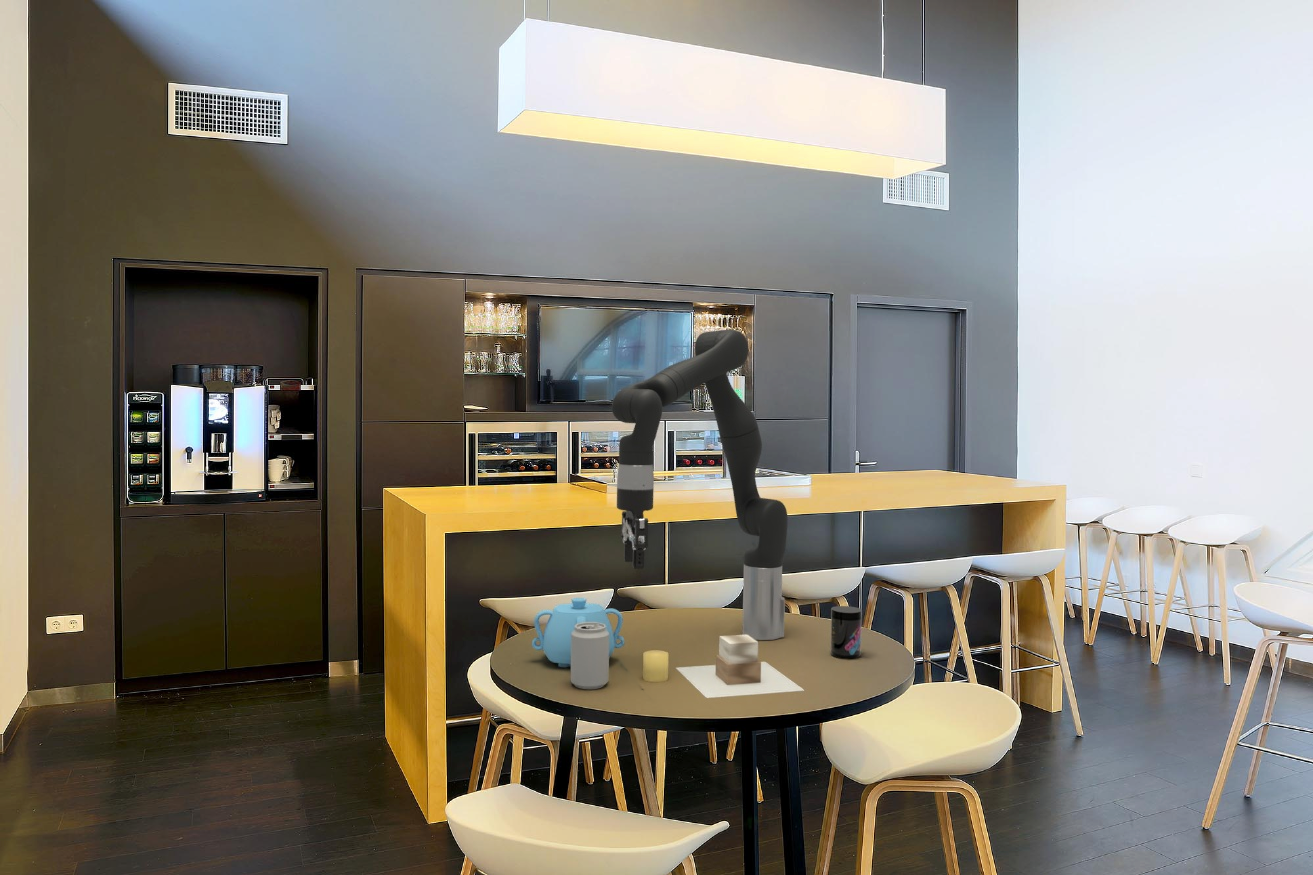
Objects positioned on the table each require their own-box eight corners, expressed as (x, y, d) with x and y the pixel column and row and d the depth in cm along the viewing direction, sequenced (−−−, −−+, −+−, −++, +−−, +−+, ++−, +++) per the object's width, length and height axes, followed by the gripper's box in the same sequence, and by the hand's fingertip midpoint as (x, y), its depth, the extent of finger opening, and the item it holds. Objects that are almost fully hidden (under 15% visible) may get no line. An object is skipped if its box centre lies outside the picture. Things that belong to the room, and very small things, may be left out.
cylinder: (663, 678, 189) (664, 649, 188) (671, 686, 184) (671, 656, 184) (640, 680, 187) (640, 650, 187) (646, 687, 182) (647, 657, 182)
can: (570, 679, 187) (571, 620, 187) (607, 678, 188) (608, 620, 188) (570, 690, 180) (571, 629, 179) (609, 690, 181) (609, 629, 180)
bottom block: (747, 672, 190) (748, 653, 190) (760, 682, 184) (761, 662, 183) (715, 674, 188) (715, 655, 188) (727, 685, 182) (727, 664, 182)
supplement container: (840, 660, 204) (841, 613, 203) (824, 652, 210) (825, 606, 210) (866, 658, 206) (867, 611, 205) (850, 650, 212) (851, 605, 212)
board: (765, 666, 198) (765, 661, 198) (804, 695, 179) (804, 690, 179) (675, 672, 193) (675, 667, 193) (706, 703, 174) (706, 697, 174)
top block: (746, 653, 190) (747, 634, 189) (757, 662, 184) (758, 642, 184) (718, 655, 188) (719, 636, 188) (729, 663, 182) (729, 643, 182)
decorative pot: (574, 677, 189) (575, 611, 188) (524, 660, 200) (525, 598, 200) (631, 661, 201) (632, 599, 200) (581, 646, 212) (582, 587, 211)
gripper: (661, 489, 184) (659, 570, 185) (645, 483, 198) (643, 558, 199) (624, 489, 183) (622, 571, 183) (610, 483, 196) (609, 559, 197)
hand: (633, 564), depth 191 cm, fingers open, 8 cm apart
